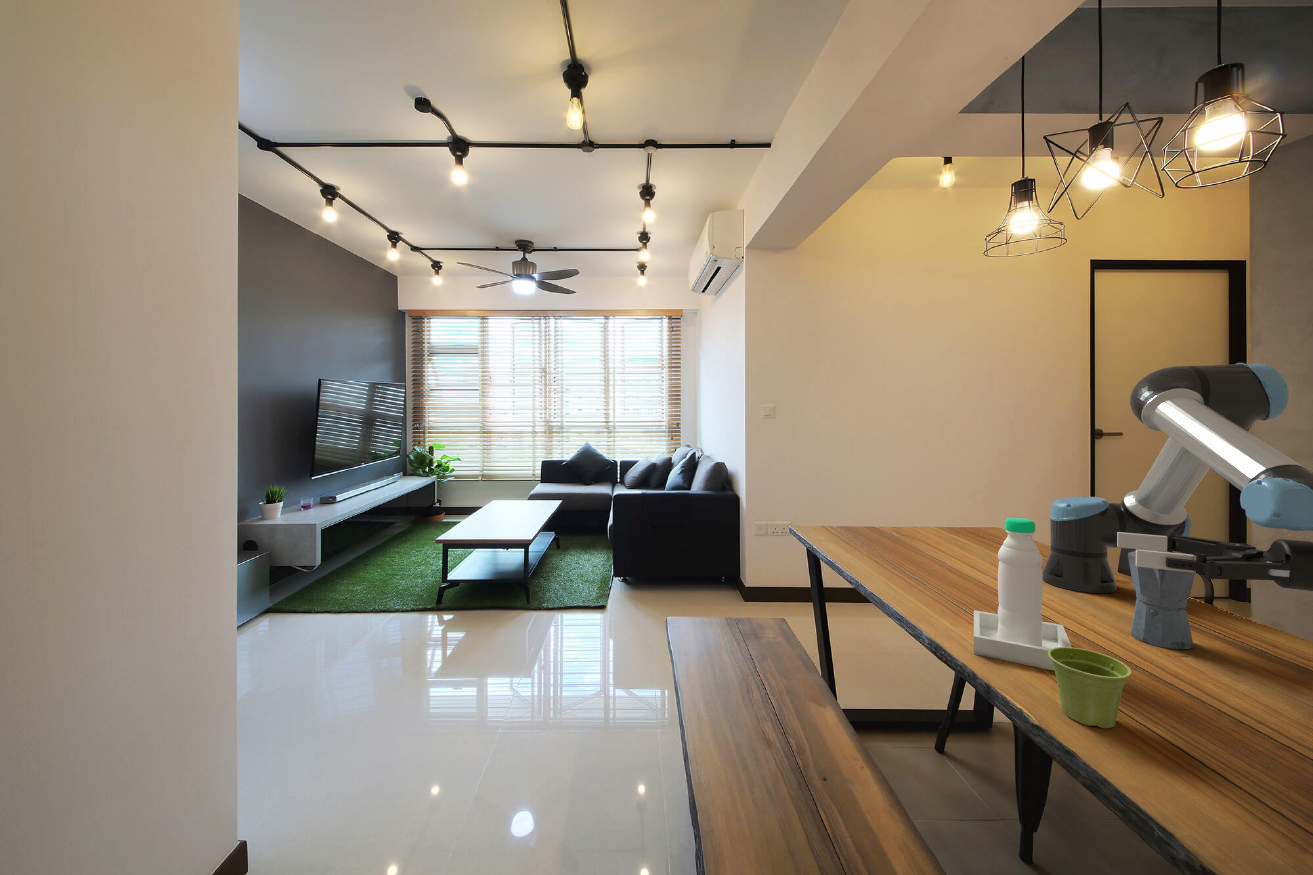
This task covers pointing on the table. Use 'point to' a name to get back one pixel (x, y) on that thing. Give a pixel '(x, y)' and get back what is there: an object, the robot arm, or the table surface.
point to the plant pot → (1089, 685)
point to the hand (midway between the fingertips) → (1126, 548)
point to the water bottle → (1020, 585)
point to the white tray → (1013, 651)
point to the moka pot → (1161, 606)
